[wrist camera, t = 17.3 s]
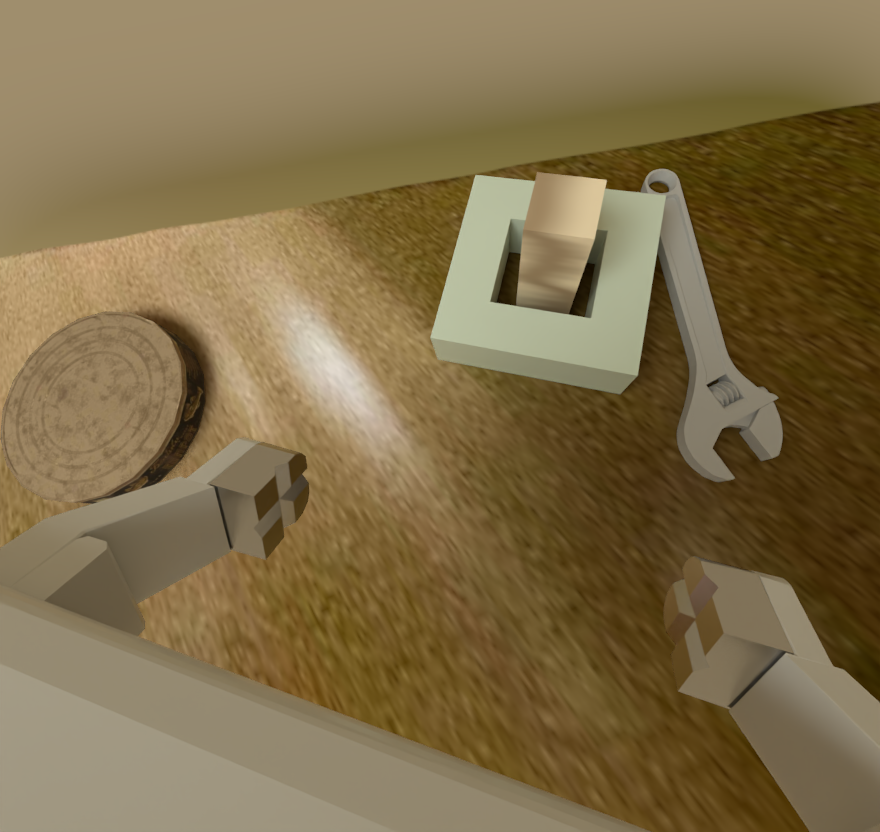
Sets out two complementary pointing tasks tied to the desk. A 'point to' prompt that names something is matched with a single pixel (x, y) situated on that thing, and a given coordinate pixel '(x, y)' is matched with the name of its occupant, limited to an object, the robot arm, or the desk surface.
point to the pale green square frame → (543, 332)
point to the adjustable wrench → (707, 352)
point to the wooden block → (557, 240)
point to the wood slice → (102, 409)
